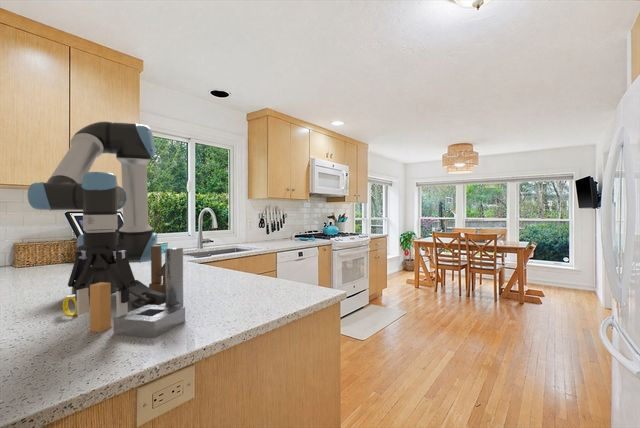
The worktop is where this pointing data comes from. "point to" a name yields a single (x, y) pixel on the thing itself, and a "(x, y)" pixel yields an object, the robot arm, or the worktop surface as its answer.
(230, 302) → the worktop surface
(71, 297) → the watch
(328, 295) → the worktop surface
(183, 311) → the grey l-shaped piece
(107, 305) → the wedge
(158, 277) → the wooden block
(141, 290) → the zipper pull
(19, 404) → the worktop surface
